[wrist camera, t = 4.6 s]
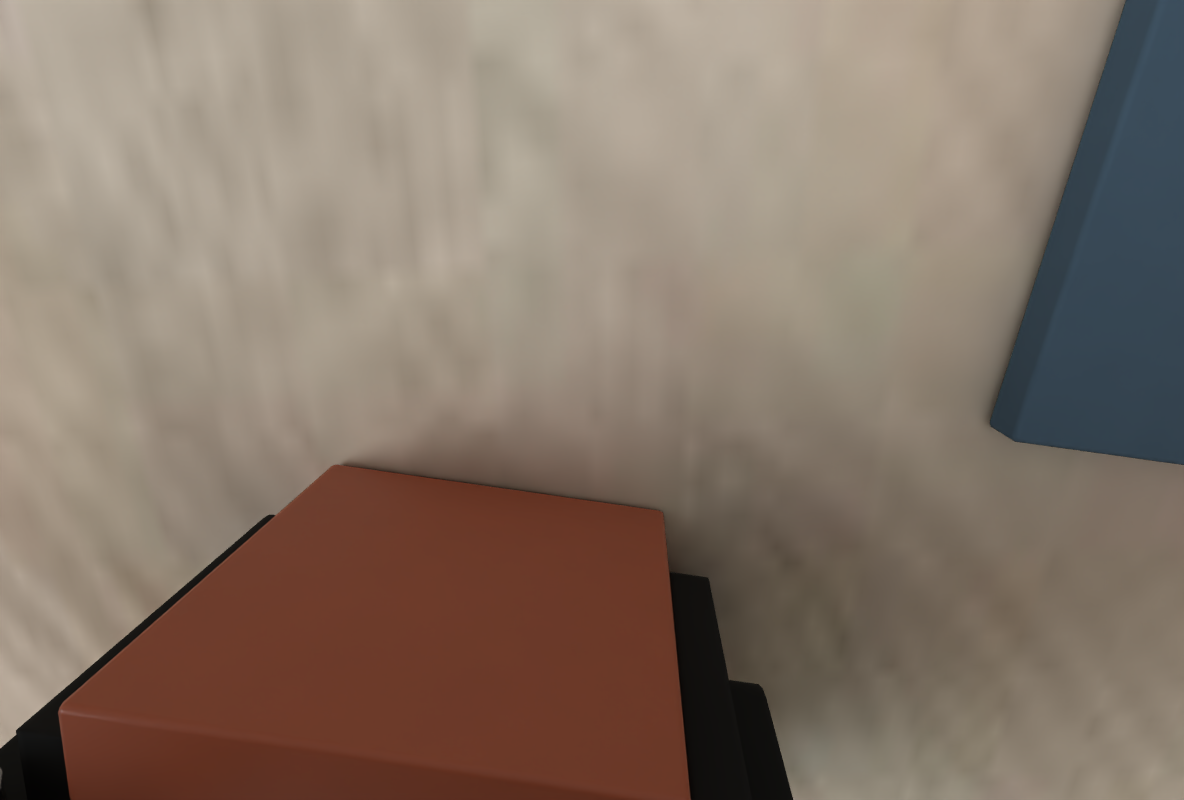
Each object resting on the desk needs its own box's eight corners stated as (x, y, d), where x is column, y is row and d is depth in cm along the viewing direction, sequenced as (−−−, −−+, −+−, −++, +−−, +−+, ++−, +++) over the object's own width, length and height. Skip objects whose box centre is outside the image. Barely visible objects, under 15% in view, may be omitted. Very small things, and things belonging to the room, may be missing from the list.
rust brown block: (663, 509, 9) (695, 815, 4) (618, 772, 10) (605, 1211, 6) (333, 462, 9) (39, 718, 4) (329, 729, 10) (101, 1128, 6)
